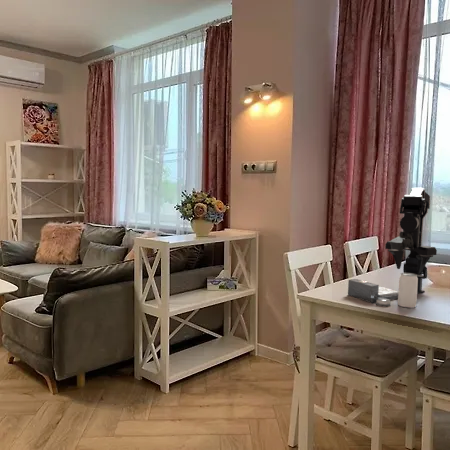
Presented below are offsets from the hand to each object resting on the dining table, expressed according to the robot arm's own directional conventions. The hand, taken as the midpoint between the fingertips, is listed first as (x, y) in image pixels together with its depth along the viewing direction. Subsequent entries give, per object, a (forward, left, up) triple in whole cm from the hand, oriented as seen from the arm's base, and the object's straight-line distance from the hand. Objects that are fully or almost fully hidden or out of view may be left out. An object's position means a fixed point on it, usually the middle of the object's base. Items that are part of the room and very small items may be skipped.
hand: (408, 271), depth 173 cm
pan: (-2, -15, -12) cm, 19 cm away
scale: (+1, -15, -13) cm, 20 cm away
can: (0, 0, -13) cm, 13 cm away
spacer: (+7, -5, -13) cm, 16 cm away
